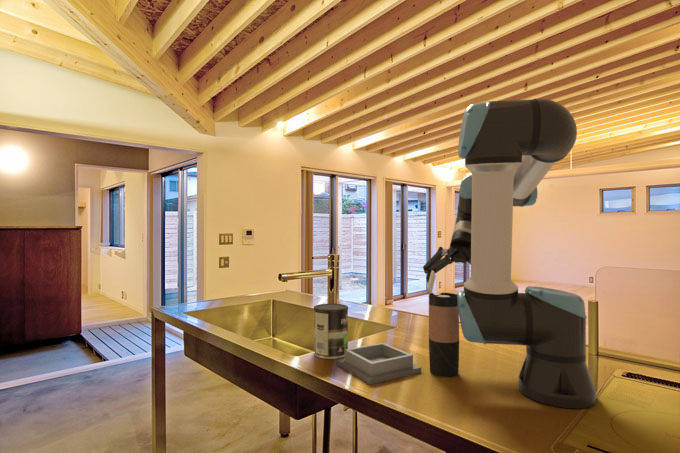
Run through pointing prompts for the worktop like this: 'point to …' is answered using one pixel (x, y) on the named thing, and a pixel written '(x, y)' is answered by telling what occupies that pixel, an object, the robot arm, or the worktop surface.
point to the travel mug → (443, 334)
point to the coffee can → (330, 330)
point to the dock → (378, 363)
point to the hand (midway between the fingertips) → (452, 292)
